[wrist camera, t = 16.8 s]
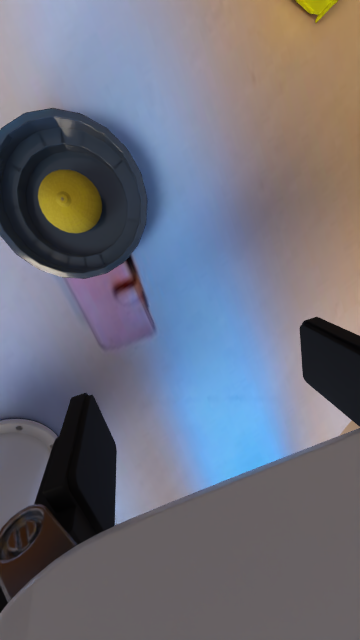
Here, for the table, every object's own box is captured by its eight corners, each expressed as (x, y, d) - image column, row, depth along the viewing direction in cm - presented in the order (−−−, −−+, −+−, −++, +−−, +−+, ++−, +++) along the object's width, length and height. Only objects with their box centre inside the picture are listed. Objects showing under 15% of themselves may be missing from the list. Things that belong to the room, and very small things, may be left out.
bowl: (42, 282, 31) (25, 293, 26) (-18, 146, 25) (-53, 125, 20) (155, 254, 32) (161, 259, 27) (122, 120, 27) (122, 95, 22)
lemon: (53, 171, 27) (26, 150, 19) (107, 185, 28) (101, 171, 21) (50, 226, 28) (24, 226, 21) (101, 237, 30) (94, 240, 22)
